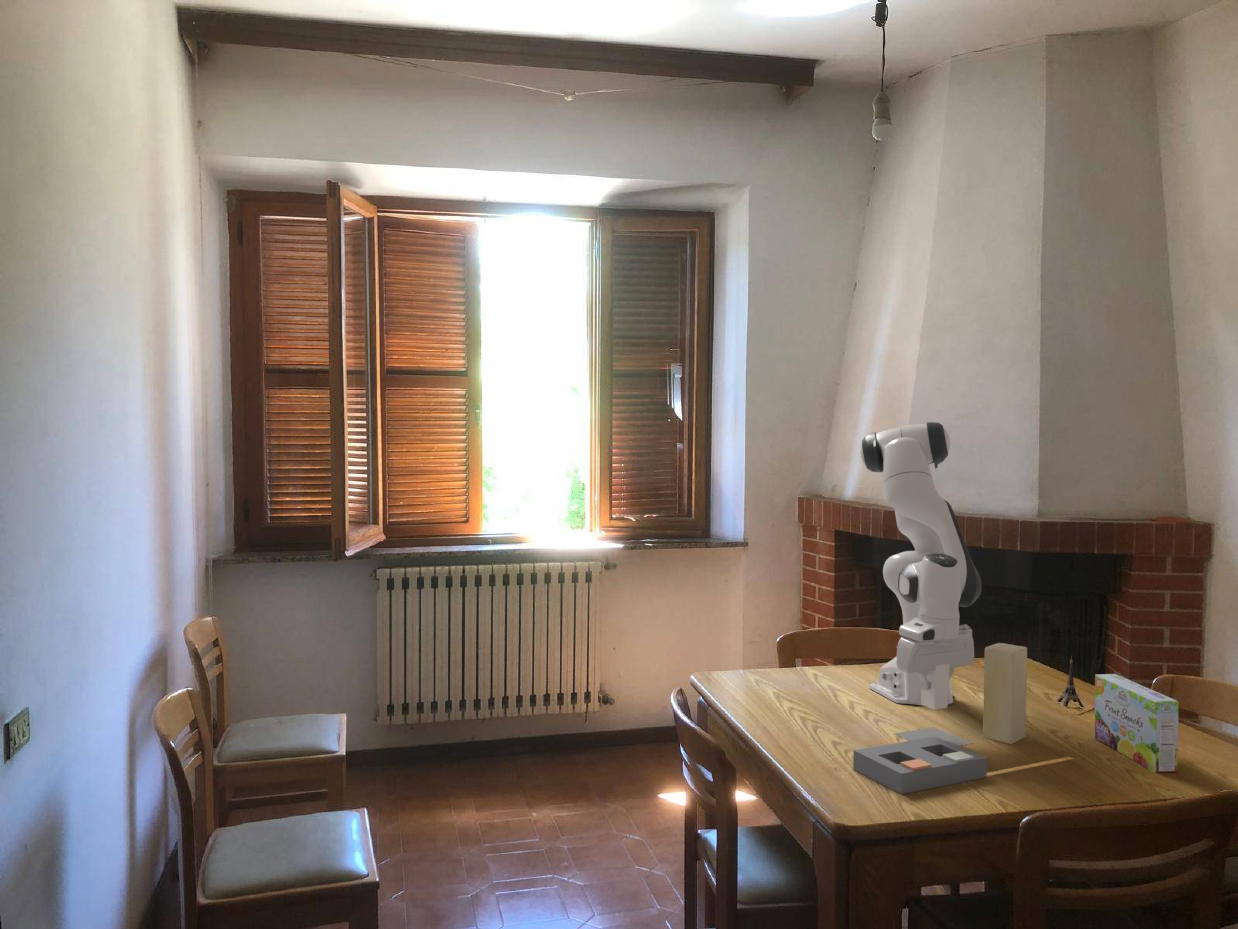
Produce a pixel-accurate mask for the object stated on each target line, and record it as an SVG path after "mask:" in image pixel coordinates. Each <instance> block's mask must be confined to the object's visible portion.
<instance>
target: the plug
mask: <svg viewBox="0 0 1238 929" xmlns="http://www.w3.org/2000/svg"><path fill="white" fill-rule="evenodd" d="M949 669H950V664H942V665H935V670H932V671H929V673H928V676H927V679H928V681H929V682H931V689H929V690H923V689H922V692H921V705H920V706H923V705H924V707H926V708H929V709H930V710H933V711H935V710H936V711H937V710H941V709H947V708H948V687H949Z"/></svg>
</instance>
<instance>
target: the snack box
mask: <svg viewBox="0 0 1238 929" xmlns="http://www.w3.org/2000/svg"><path fill="white" fill-rule="evenodd" d="M1094 675H1095V676H1094V703H1095V709H1094V739H1095V740H1097V741H1099V742H1100V741H1101V742H1100V743H1102V744H1104V745H1106V746H1108V747H1109V748H1111V749H1113V750H1114V749H1115V750H1114V751H1116V752H1118V753H1120V754H1121V753H1122V754H1121V755H1123V756H1125V757H1126V756H1127V758H1128V759H1130V760H1131V761H1133V760H1134V762H1136V763H1137V764H1138V765H1141V766H1143V767H1144V768H1146V769H1147V770H1149V771H1151V772H1152V773H1155V774H1158V773H1178V766H1179V765H1178V763H1179V762H1178V761H1179V760H1178V758H1179V756H1178V755H1179V750H1178V749H1179V714H1180V713H1179V707H1180V706H1179V705H1180V704H1179V703H1180V702H1179V701H1178V700H1177V699H1174V698H1172V697H1169V696H1167V695H1165V694H1163V693H1160V692H1158V691H1155V690H1153V689H1151V688H1149V687H1147V686H1144V685H1141V683H1140V684H1139V683H1137V682H1135V681H1132V680H1130V679H1128V678H1126V677H1123V676H1121V675H1118V674H1116V673H1105V674H1094Z"/></svg>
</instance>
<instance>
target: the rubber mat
mask: <svg viewBox="0 0 1238 929" xmlns="http://www.w3.org/2000/svg"><path fill="white" fill-rule="evenodd" d="M894 735H895V736H897V737H900V738H902V739H904V740H907V741H911V740H917V739H923V738H929V737H935V736H936V737H938V738H941V739H943V740H945V741H948V742H950V743H953V744H955V745H957V746H960V747H962V746H965V745H966V746H967V745H971V744H974V743H973V742H971V741H969V740H966V739H964V738H961V737H958V735H957V736H956V735H953V734H951V733H950V732H946V731H944V730H941V729H939V728H936V727H927V728H922V729H919V728H918V729H914V730H909V731H908V730H907V731H903V732H895V733H894Z"/></svg>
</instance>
